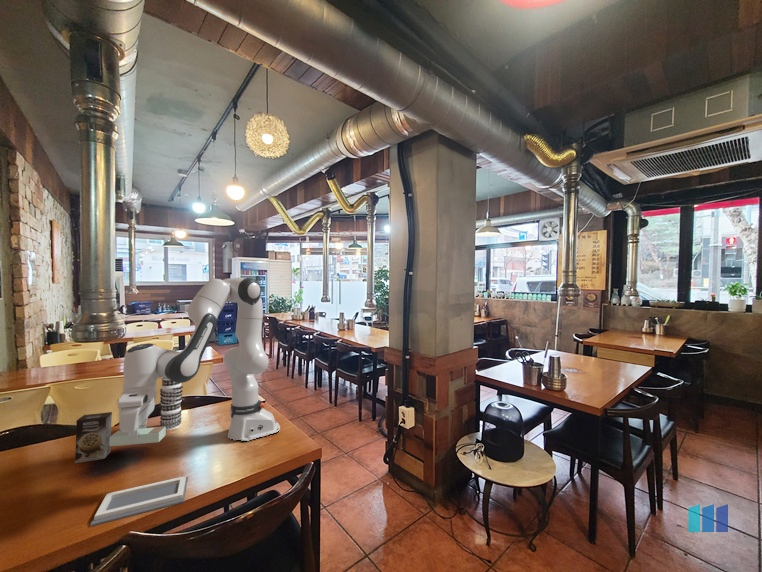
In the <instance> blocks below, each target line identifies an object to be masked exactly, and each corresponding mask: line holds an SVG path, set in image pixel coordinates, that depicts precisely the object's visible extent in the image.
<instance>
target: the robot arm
mask: <svg viewBox="0 0 762 572" xmlns="http://www.w3.org/2000/svg"><path fill="white" fill-rule="evenodd" d="M261 295H262V287H261V285H260V283H259V281H257V280H256V279H253V278H249V277H248V278H246V277H245V278H244V277H232V278H230V277H229V278H223V279H220V278H211V279H210V280H208V281H207V282H206V283H205V284H204V285H203V286H202V287H201V288H200V289H199V290H198V291H197V293H196V295H195V296H194V297H193V298H192V300H191V302H190V303H189V305H188V308H187V315H188V318H189V319H190V321H192V322H193V323H194V330H193V332H192V334H191V336H190V338H189V340H188V342H187V344H186V346H185V347H184V349H182V350H180V351H177V350H174V349H172V350H171V349H165V348H163V347H159V346H157V345H155V344H154V343H141V344H136V345H134V346H132V347H130V348H128V349H127V351H126V353H125V355H124V360H123V371H122V372H123V373H122V375H123V377H124V382H123V385H122V392H121V396H120V398H119V400H118V401H117V408H118V409H119V415H118V417H119V418H118V420H119V421H118V422H119V430H120V431H121V433H130V435H131V440H132V441H133V440H137V439H138V438H139V433H138V429H141V428H147V423H148V420H149V419H148V418H149V416H150V415H151V414H152V413H153V412H154V410H155V405H156V404H155V402H156V401H155V398H156V395H157V394H156V393H157V380H158V379H160V378H161V379H162V378H166V379H170V380H172V381H174V382H177V383H181V384H183V383H187V382H189V381H191V380H192V379H193V378H195V377H196V375H197V374H198V373H199V369H200V366H201V364H202V363H201V362H202V358H203V356H204V354H205V352H206V349H207V347H208V345H209V343H210V341H211V339H212V337H213V334H214V332H215V330H216V327H217V325H218V317H219V315H220V313H221V311H222V310H223V308H224V307H225V304H226V303H228V302H229V303H235V304H237V307H238V310H237V314H236V316H237V317H236V324H235V333H234V334H235V337H236V339H237V341H238V346H235V347H231V348H229V349H227V350H226V352H225V353H224V356H223V362H224V364H225V366H226V368H227V370H228V375H229V378H230V383H231V384H230V385H231V404H230V413H229V414H230V423H229V428H228V432H227V439H229V438H230V439H229V440H231V439H233V440H232V441H236V440H241V441H249V440H252V439H256V438H259V437H263V436H266V435H269V434H273V433H276V432H278V431H279V430H280V431H281V425H280V424H279V422H278V421H276V419H275V416H274V414H273V413H272V412H271V411H268V409H266V408H265V403H264V402H263V401H262V400H261V399H259V384H258V381H257V380H256V378H255V376H256V375H261V374H263V373H265V371H266V370H267V369H268V366H269V362H270V361H269V357H268V355H267V353H266V351H265V349H264V344H263V343H264V342H263V338H262V331H263V317H264V308H263V305H264V304H263V300H262V296H261ZM275 422H276V423H275ZM277 429H278V430H277ZM280 431H279V432H280ZM263 438H264V437H263ZM256 440H257V439H256ZM241 441H240V442H241ZM252 441H253V440H252ZM249 442H250V441H249Z"/></svg>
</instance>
